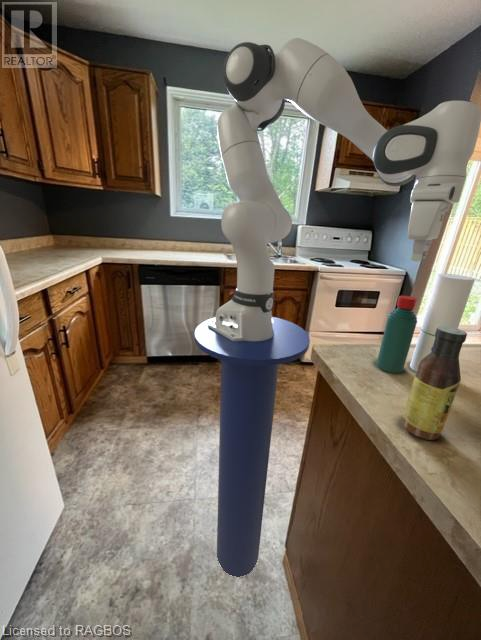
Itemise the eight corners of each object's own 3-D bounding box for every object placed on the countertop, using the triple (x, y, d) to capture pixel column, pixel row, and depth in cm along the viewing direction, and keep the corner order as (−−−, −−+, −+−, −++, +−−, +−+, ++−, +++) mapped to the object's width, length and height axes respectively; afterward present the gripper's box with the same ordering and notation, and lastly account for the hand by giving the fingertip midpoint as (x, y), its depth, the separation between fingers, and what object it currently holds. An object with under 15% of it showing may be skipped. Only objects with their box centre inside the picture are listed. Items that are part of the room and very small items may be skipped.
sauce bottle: (442, 447, 46) (482, 342, 40) (400, 433, 49) (432, 332, 42) (437, 424, 52) (472, 328, 45) (400, 413, 55) (428, 321, 48)
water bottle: (373, 367, 72) (390, 298, 66) (379, 358, 77) (395, 294, 70) (400, 376, 68) (420, 304, 62) (405, 366, 73) (424, 299, 66)
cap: (395, 306, 66) (397, 297, 66) (398, 303, 69) (400, 294, 68) (412, 310, 64) (415, 300, 63) (415, 307, 67) (418, 297, 66)
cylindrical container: (443, 380, 68) (478, 281, 59) (410, 371, 71) (439, 276, 62) (439, 367, 73) (471, 276, 65) (409, 360, 77) (435, 272, 68)
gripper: (425, 198, 67) (410, 255, 72) (410, 189, 53) (393, 261, 57) (456, 198, 64) (439, 258, 68) (450, 188, 49) (428, 265, 54)
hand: (418, 259), depth 63 cm, fingers open, 5 cm apart
